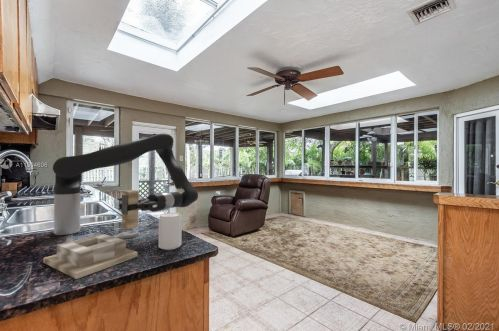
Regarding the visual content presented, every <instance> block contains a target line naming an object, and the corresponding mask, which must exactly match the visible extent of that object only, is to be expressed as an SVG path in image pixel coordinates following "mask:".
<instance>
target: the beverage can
mask: <svg viewBox="0 0 499 331" xmlns="http://www.w3.org/2000/svg"><path fill="white" fill-rule="evenodd" d="M182 221H183V219H182V216H181V213H179V212H165V213H161V214H160V215H159V218H158V248H160V249H161V250H166V251H171V250H176V249H178V248H180V247H181V246H182V241H183V240H182V238H183V237H182V234H183V233H182V232H183V231H182V228H183V227H182V224H183V223H182Z"/></svg>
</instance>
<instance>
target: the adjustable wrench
mask: <svg viewBox="0 0 499 331" xmlns="http://www.w3.org/2000/svg"><path fill="white" fill-rule="evenodd" d="M112 236H113V237H116V238H120V239H123V240H125V239H133V238H136V237H139V231H136V232H133V230H130V231H128V230H127V231H124V232H120V233H118V234H116V235H112Z"/></svg>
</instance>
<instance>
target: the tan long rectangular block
mask: <svg viewBox="0 0 499 331" xmlns="http://www.w3.org/2000/svg"><path fill="white" fill-rule="evenodd" d="M139 194H140V193H139V190H136V189H131V190H130V189H129V190H122V195H121V203H122V210H121V209H120V211H121V228H122V229H127V230H130V229H135V228H139V227H138V226H139V210H131V211H127V210H126V207H127V205H130V204H137V203H138V200H140V199H139V196H140V195H139Z"/></svg>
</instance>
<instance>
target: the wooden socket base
mask: <svg viewBox="0 0 499 331" xmlns="http://www.w3.org/2000/svg"><path fill="white" fill-rule="evenodd" d="M113 236H114V235H109V234H105V233H98V234H94V235H91V236H87V237H82V238H79V239H75V240H71V241H66V242H62V243H58V244H56V254H53V255H49V256H45V257H43V261H42V262H43V264H45V265H47V266H49V267H51V268H53V269H55V270H58V271H59V272H61V273H63V274H65V275H67V276H68V277H71V278H73V279H76V280H78V279H80V278H84V277H86V276H89V275H91V274H94V273H97V272H100V271H103V270H105V269H108V268H110V267H113V266H115V265H118V264H121V263H124V262H126V261H129V260H132V259H134V258H137V257H138V255H139V254H138V252H139V251H136V250H132V249H129V248H127V240H126V239H120V238H116V237H113Z"/></svg>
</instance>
